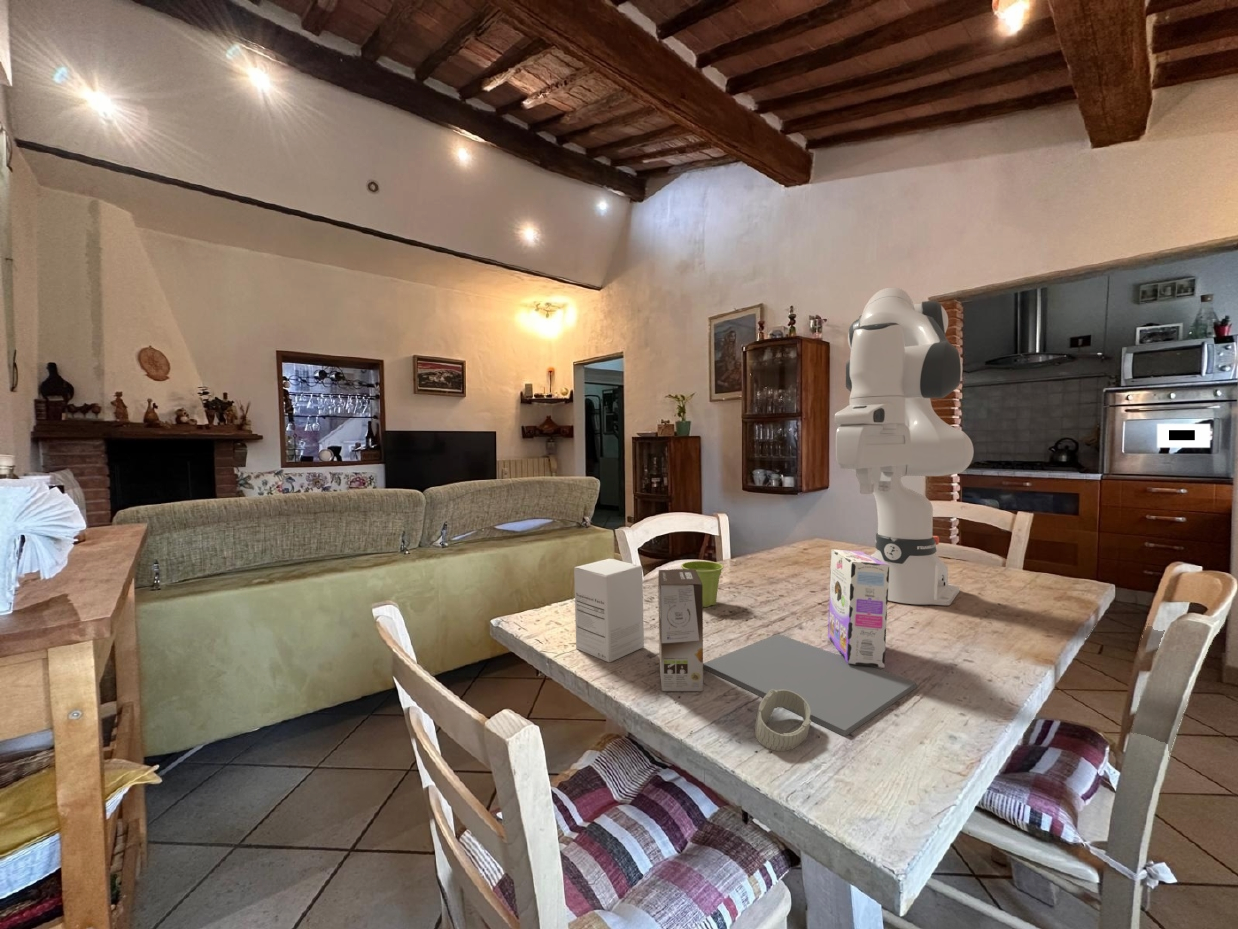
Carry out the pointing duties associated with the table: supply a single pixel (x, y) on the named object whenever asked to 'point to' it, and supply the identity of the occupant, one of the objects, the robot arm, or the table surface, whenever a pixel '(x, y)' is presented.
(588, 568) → the supplement box
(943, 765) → the table surface
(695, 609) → the coffee box
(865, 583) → the candy box
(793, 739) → the beige ribbed ring
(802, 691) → the mat
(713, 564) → the plant pot
